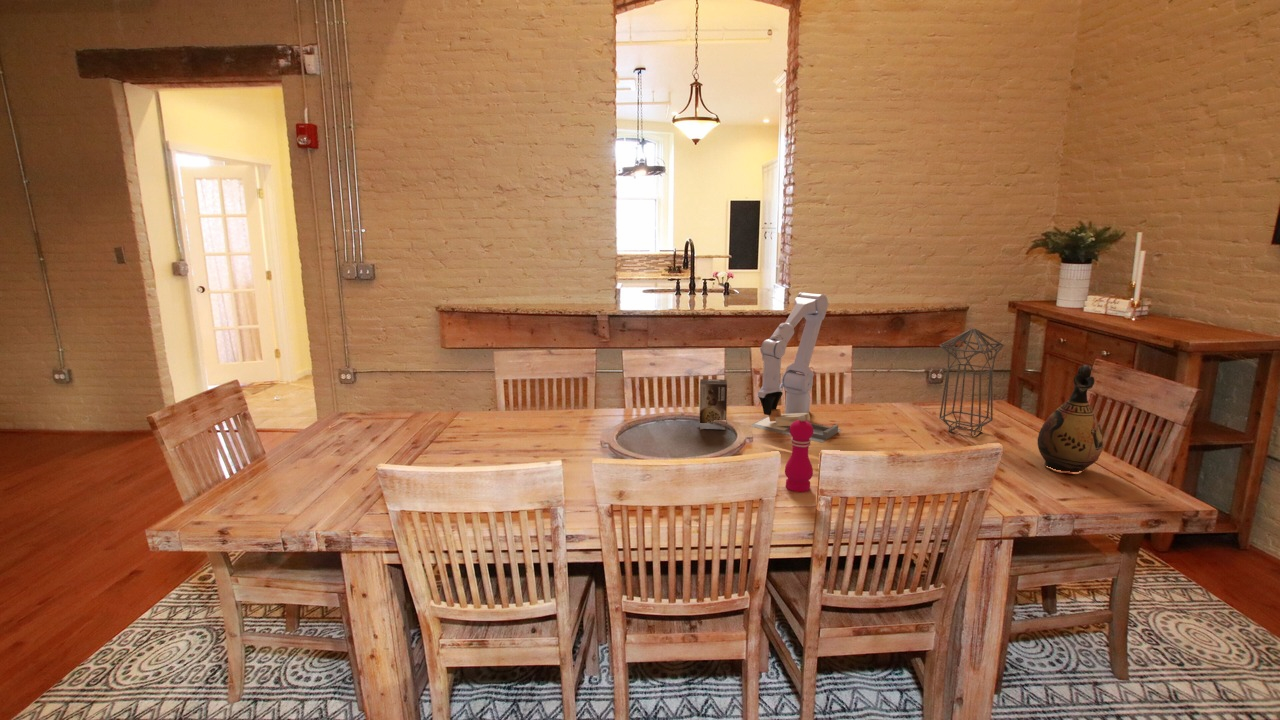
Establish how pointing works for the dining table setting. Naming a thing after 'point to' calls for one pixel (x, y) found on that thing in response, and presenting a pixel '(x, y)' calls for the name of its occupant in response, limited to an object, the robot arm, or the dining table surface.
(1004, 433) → the dining table surface
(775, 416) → the birch block
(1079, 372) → the ceramic jug
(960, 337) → the geometric lantern
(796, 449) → the pepper mill
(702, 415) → the cookie box
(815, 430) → the lane board
